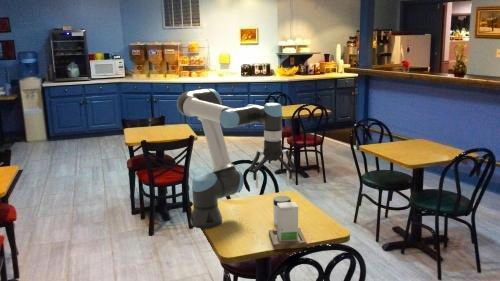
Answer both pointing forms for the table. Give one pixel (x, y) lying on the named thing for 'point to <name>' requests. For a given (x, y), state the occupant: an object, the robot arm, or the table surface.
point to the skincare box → (287, 221)
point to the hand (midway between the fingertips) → (272, 186)
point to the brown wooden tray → (287, 244)
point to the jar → (276, 200)
